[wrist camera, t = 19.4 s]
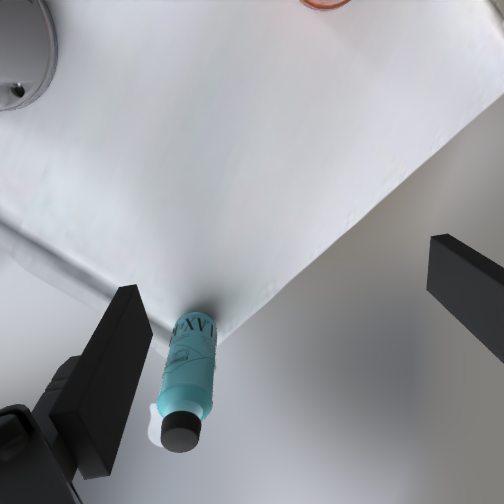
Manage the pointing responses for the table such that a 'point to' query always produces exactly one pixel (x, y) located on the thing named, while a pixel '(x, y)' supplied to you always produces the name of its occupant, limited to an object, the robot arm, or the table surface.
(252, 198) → the table surface
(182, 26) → the table surface
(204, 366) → the beverage bottle
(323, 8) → the upturned mug
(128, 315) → the robot arm
